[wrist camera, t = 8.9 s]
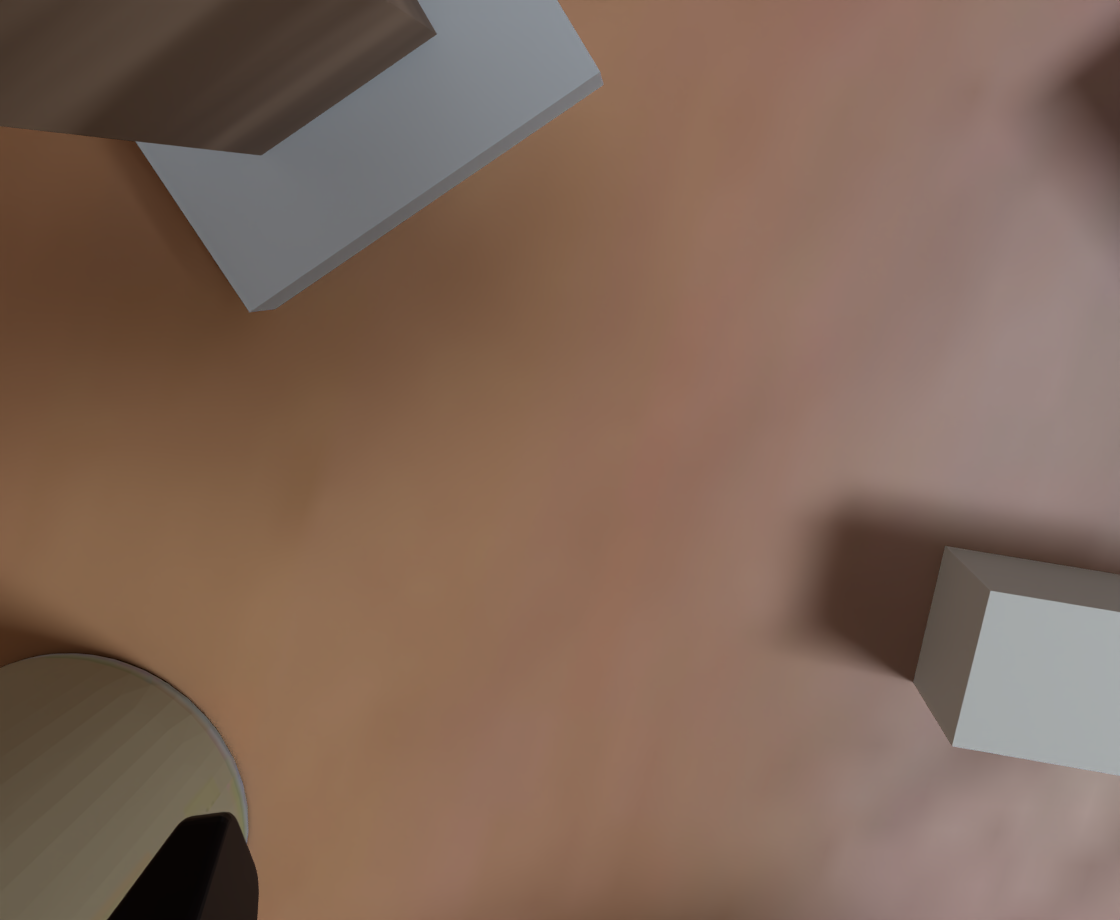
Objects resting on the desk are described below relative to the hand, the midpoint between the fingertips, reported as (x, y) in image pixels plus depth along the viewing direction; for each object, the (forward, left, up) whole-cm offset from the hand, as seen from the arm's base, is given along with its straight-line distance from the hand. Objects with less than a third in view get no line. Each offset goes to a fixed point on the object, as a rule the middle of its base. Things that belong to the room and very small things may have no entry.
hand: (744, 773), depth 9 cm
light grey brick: (-8, 0, -12) cm, 15 cm away
